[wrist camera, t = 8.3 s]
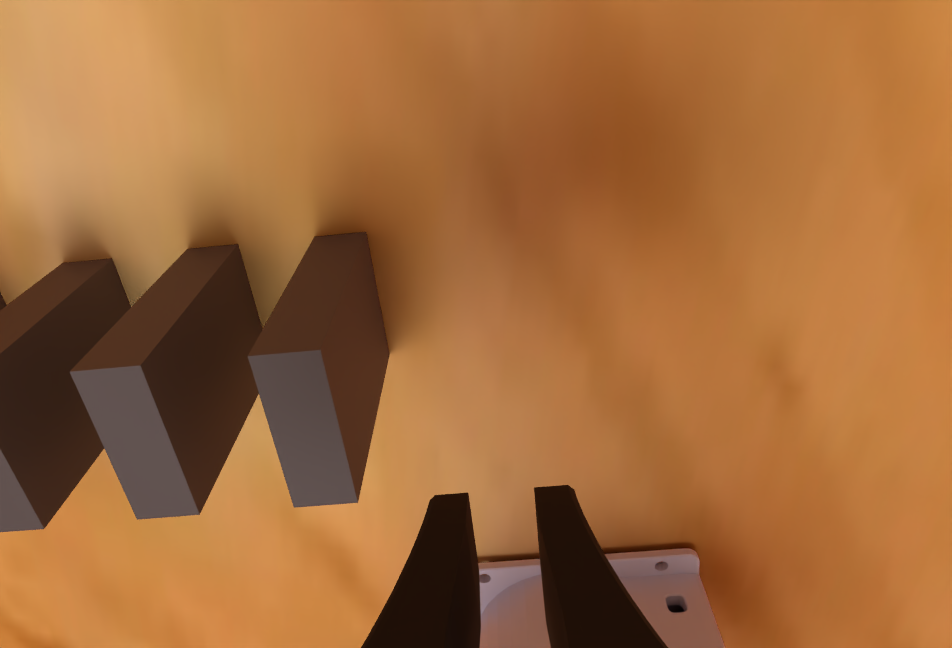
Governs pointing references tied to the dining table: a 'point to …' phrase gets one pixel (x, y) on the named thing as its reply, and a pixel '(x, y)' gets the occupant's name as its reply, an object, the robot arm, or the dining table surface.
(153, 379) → the tile
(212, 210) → the dining table surface
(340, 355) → the tile
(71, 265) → the tile
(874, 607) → the dining table surface
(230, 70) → the dining table surface
